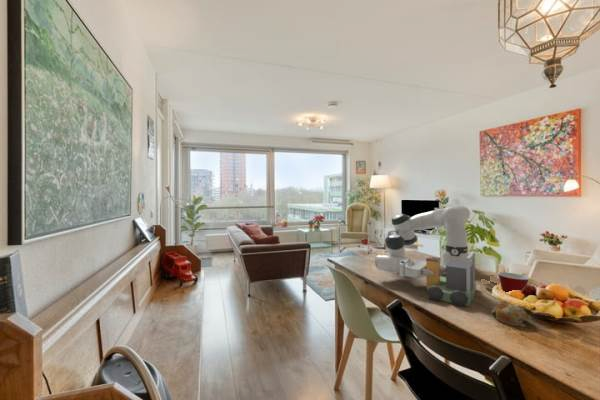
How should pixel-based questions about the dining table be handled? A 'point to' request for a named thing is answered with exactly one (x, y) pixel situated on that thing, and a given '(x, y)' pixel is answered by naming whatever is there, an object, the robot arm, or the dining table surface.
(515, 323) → the grey brown rounded lump
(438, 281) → the orange tall cylinder
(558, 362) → the dining table surface
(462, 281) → the green wheeled cart
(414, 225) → the robot arm
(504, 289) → the plastic cup
